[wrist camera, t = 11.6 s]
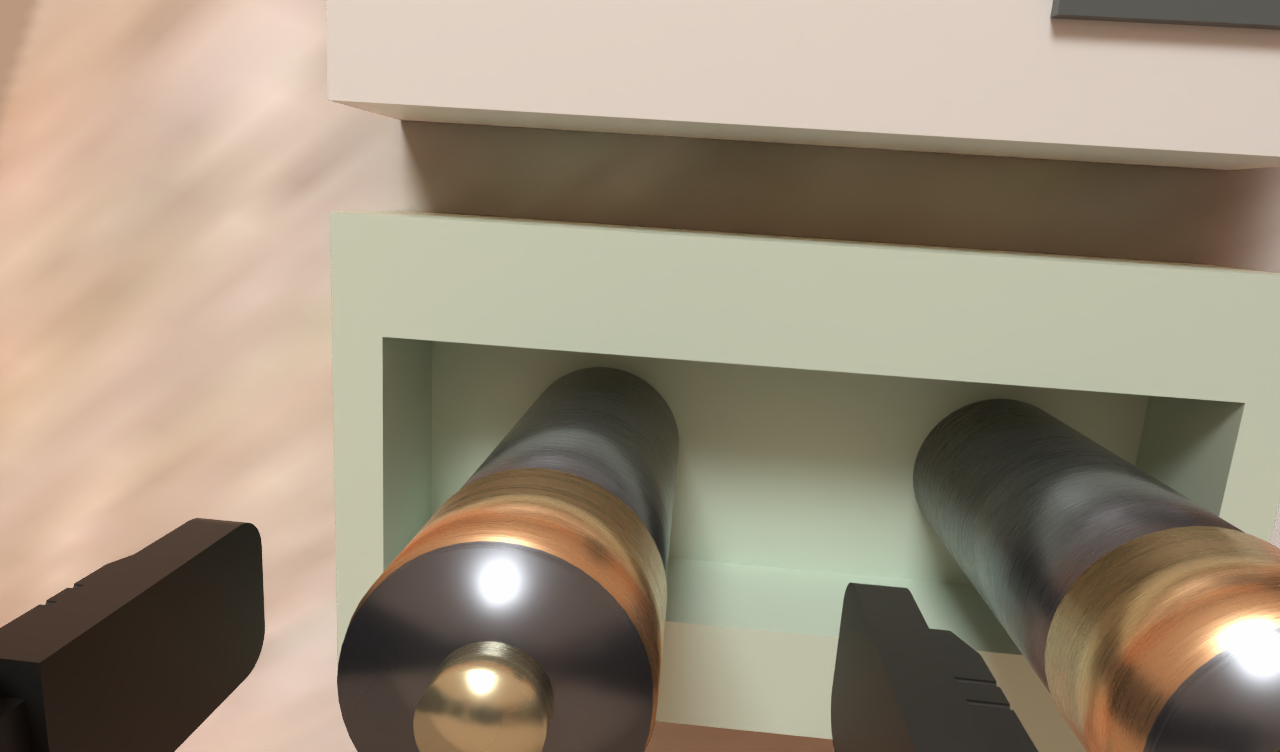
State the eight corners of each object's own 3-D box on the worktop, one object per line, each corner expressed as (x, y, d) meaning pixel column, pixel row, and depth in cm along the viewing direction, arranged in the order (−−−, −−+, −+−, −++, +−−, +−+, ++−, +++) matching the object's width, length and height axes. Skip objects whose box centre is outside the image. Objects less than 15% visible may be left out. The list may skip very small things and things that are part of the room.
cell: (687, 371, 18) (665, 586, 8) (675, 523, 19) (642, 899, 9) (525, 359, 19) (303, 552, 8) (521, 510, 19) (312, 861, 9)
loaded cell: (1093, 403, 18) (1632, 679, 8) (1063, 559, 19) (1515, 1001, 8) (922, 390, 18) (1218, 639, 8) (900, 544, 19) (1143, 958, 9)
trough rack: (1208, 264, 18) (1334, 279, 14) (1120, 676, 20) (1211, 778, 16) (399, 210, 19) (329, 211, 15) (399, 606, 21) (337, 688, 17)
